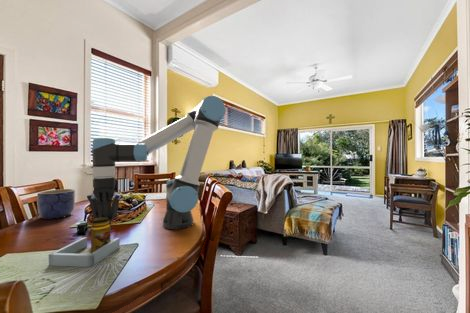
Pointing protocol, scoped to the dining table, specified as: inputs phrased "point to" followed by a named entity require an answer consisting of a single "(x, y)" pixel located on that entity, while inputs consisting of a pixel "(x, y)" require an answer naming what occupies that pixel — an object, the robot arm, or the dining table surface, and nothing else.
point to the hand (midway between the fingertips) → (105, 236)
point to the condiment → (99, 234)
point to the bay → (68, 257)
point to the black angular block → (82, 230)
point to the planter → (56, 203)
